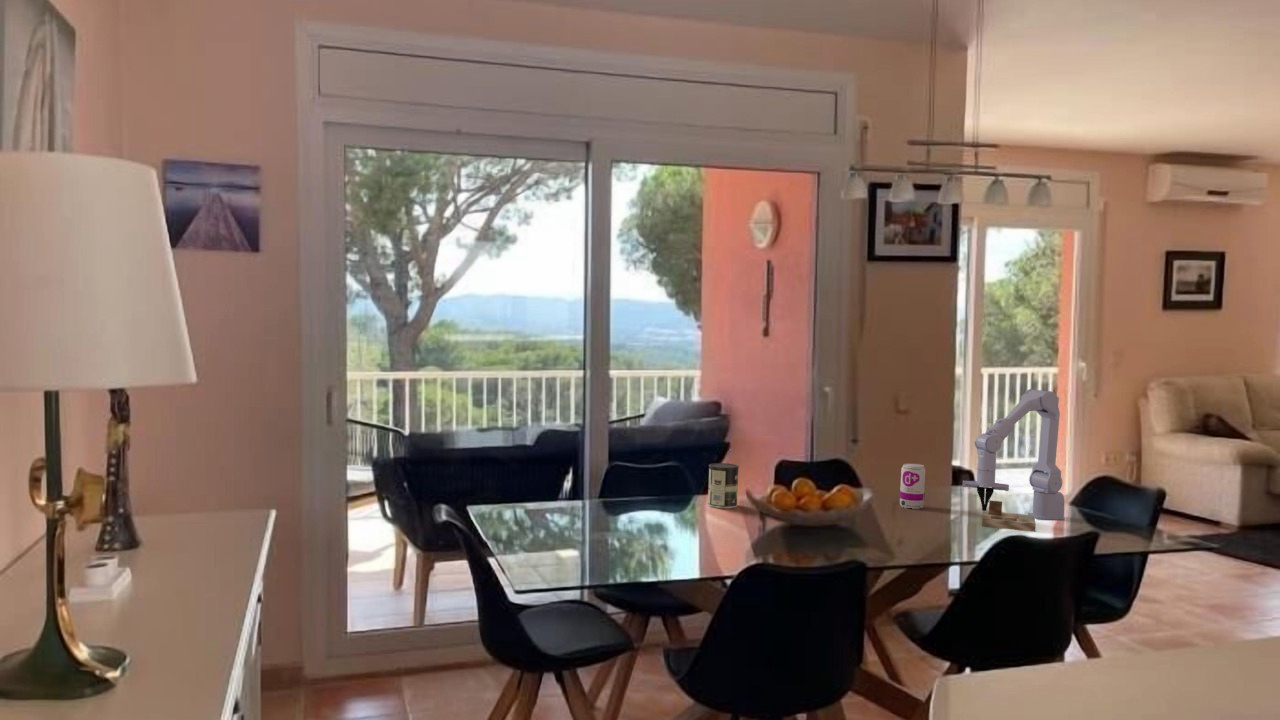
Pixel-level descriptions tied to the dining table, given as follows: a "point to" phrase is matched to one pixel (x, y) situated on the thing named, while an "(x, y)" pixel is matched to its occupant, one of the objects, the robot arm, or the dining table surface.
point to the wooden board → (1007, 521)
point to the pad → (1026, 517)
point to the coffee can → (723, 485)
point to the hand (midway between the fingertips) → (984, 510)
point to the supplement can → (912, 486)
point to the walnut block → (995, 507)
